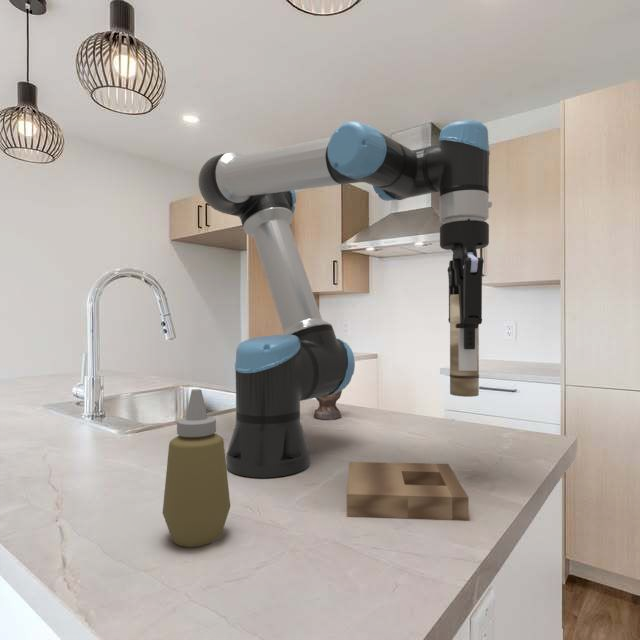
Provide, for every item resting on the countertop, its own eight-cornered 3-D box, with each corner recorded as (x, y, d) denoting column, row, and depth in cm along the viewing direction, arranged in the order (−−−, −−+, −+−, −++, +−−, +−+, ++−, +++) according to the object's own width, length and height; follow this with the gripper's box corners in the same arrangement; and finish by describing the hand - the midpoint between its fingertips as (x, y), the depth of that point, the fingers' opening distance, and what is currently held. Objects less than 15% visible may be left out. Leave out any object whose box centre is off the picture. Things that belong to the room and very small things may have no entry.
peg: (452, 396, 72) (452, 294, 72) (447, 391, 76) (447, 295, 76) (482, 396, 71) (482, 293, 71) (474, 392, 76) (474, 295, 76)
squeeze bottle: (235, 521, 60) (234, 384, 60) (224, 552, 52) (223, 395, 52) (173, 522, 60) (172, 385, 60) (153, 554, 52) (152, 395, 52)
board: (346, 516, 62) (346, 493, 62) (349, 479, 76) (349, 461, 76) (468, 520, 60) (468, 497, 60) (448, 482, 74) (448, 463, 74)
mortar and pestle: (296, 415, 126) (296, 343, 126) (317, 411, 132) (317, 341, 132) (329, 422, 118) (328, 344, 118) (349, 416, 125) (349, 343, 125)
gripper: (505, 210, 65) (505, 375, 65) (474, 232, 82) (473, 363, 82) (451, 211, 65) (451, 375, 65) (431, 233, 83) (431, 363, 83)
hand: (463, 368), depth 74 cm, fingers closed on peg, 4 cm apart
